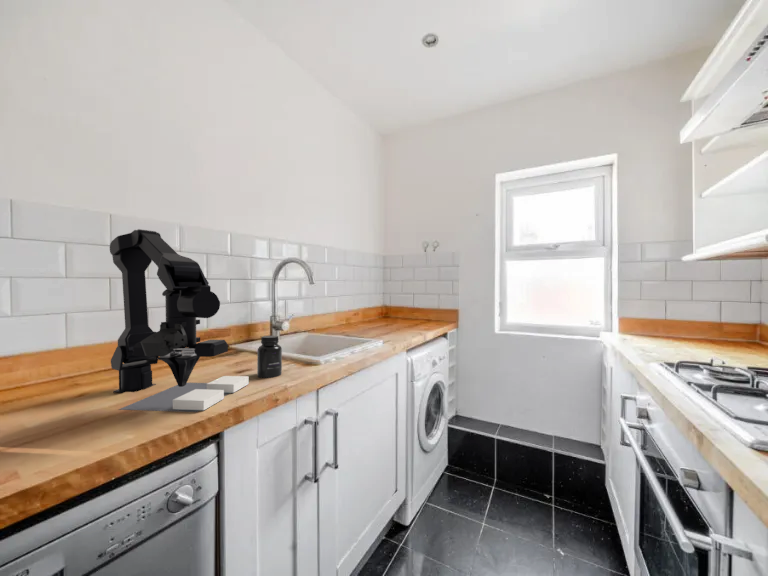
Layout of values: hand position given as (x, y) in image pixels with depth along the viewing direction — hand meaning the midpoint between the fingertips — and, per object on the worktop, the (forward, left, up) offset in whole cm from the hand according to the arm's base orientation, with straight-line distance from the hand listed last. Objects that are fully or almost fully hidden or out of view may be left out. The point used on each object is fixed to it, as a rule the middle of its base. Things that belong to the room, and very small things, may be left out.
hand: (182, 386), depth 70 cm
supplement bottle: (+9, +24, -5) cm, 26 cm away
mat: (-3, +6, -5) cm, 8 cm away
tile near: (+1, 0, -3) cm, 3 cm away
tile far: (+1, +11, -3) cm, 11 cm away
